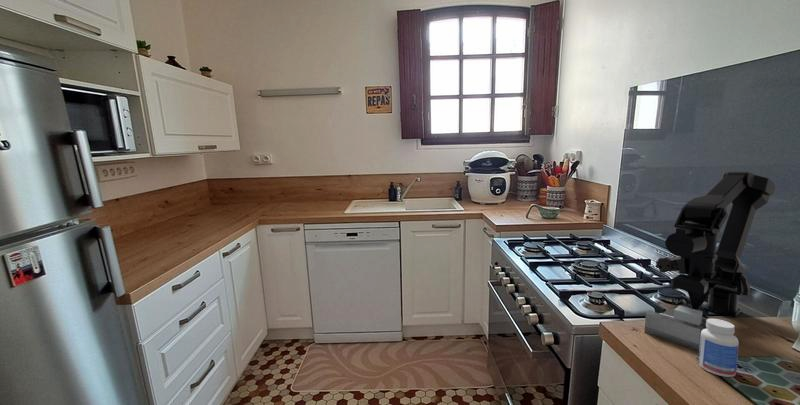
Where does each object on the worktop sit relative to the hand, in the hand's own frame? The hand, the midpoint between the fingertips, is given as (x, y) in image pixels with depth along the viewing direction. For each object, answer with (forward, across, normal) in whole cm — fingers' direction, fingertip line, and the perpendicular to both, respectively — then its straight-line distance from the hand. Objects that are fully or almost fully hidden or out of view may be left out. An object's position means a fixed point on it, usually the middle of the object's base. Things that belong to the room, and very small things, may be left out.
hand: (695, 309), depth 83 cm
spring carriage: (+2, +6, -1) cm, 7 cm away
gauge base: (+3, +8, 0) cm, 9 cm away
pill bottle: (+4, +22, +8) cm, 24 cm away
